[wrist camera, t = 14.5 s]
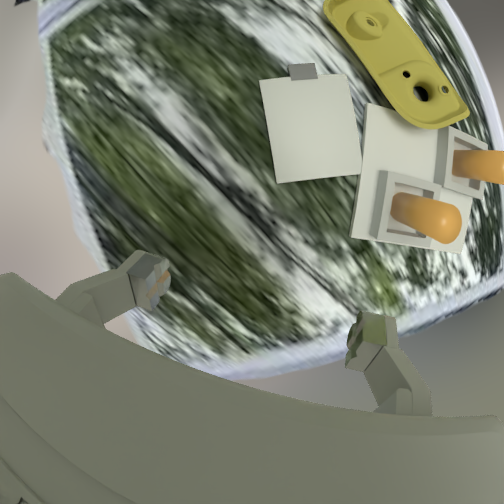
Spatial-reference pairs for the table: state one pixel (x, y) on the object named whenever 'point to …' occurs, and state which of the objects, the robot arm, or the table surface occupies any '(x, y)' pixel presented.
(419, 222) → the pin
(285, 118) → the lid
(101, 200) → the table surface
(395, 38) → the plastic component
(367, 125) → the housing
